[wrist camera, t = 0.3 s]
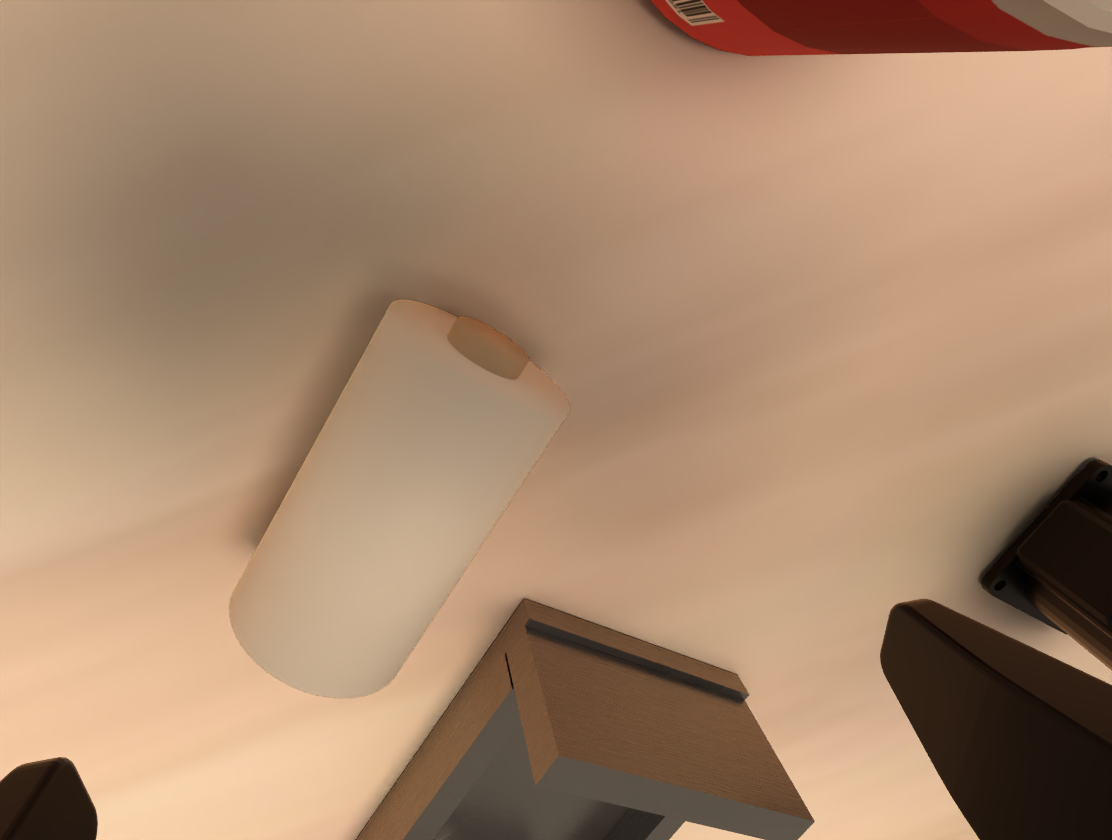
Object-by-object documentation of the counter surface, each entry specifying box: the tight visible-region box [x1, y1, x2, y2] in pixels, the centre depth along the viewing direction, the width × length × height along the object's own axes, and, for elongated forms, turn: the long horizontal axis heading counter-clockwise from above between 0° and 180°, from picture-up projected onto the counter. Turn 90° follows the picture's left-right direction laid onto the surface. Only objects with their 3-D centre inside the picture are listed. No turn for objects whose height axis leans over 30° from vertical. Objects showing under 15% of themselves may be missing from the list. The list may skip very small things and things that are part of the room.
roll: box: [229, 300, 570, 699], centre depth 19 cm, size 10×5×5 cm, turn 147°
